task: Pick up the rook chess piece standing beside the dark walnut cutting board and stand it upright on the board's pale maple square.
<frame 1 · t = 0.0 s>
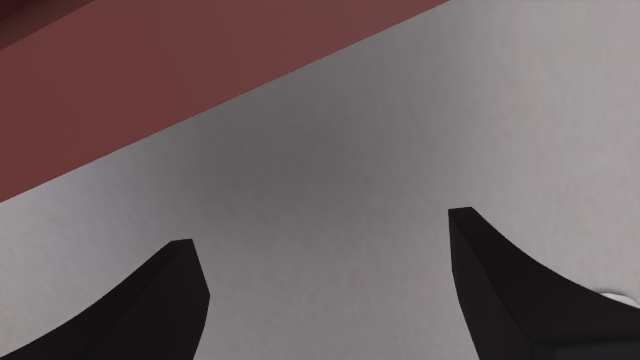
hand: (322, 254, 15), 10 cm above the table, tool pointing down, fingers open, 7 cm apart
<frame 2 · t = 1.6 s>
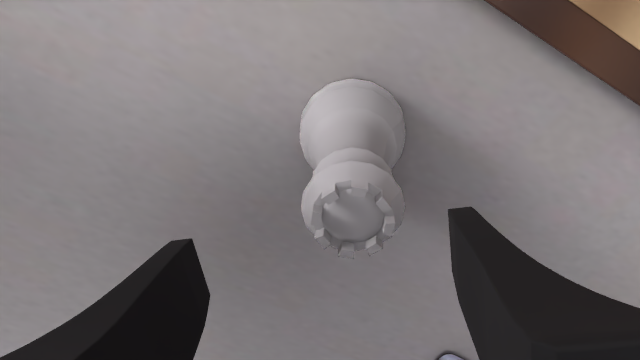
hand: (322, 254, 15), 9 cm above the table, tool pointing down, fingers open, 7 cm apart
rook chess piece: (352, 124, 23), on the table
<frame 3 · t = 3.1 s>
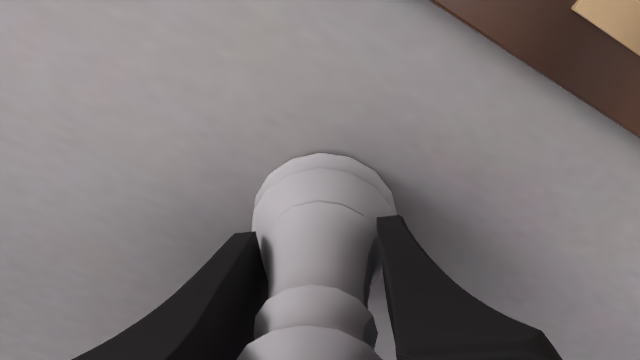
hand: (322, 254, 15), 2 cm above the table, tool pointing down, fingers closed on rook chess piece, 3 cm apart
rook chess piece: (325, 207, 17), on the table, touching gripper
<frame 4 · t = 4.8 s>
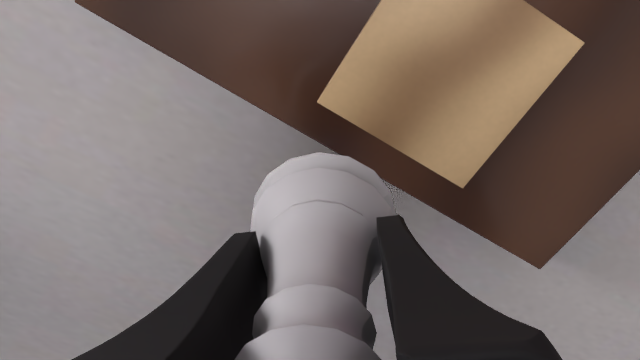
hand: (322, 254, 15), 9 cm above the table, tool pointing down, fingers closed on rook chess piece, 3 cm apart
rook chess piece: (324, 206, 17), point 7 cm above the table, touching gripper
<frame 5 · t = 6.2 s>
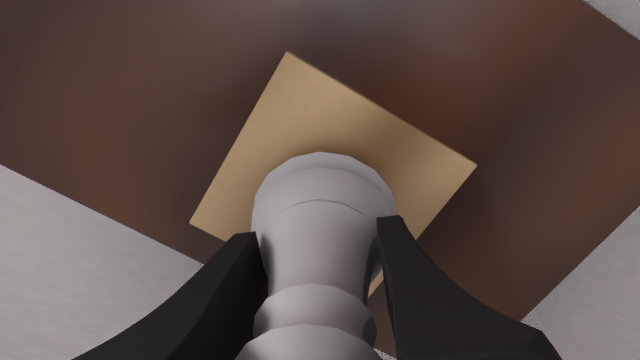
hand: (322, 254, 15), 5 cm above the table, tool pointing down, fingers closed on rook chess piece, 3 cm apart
cutting board: (309, 97, 19), on the table
rook chess piece: (325, 206, 17), point 3 cm above the table, touching gripper
when the fingers open (4 cm above the table, at t = 6.8 s): rook chess piece stays where it is, resting on cutting board.
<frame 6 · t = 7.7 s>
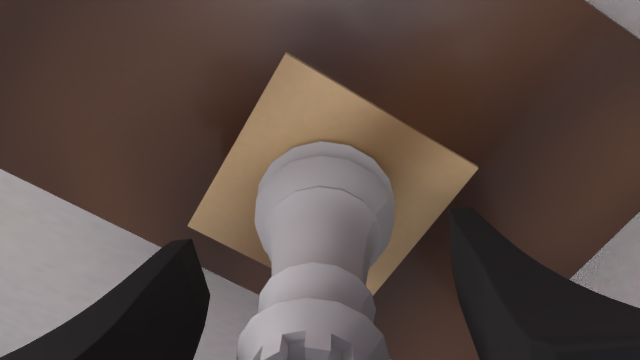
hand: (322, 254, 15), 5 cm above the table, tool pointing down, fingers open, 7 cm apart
cutting board: (308, 98, 18), on the table
rook chess piece: (326, 195, 18), point 2 cm above the table, touching cutting board
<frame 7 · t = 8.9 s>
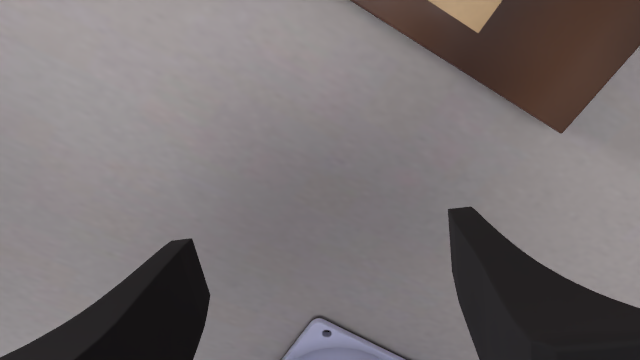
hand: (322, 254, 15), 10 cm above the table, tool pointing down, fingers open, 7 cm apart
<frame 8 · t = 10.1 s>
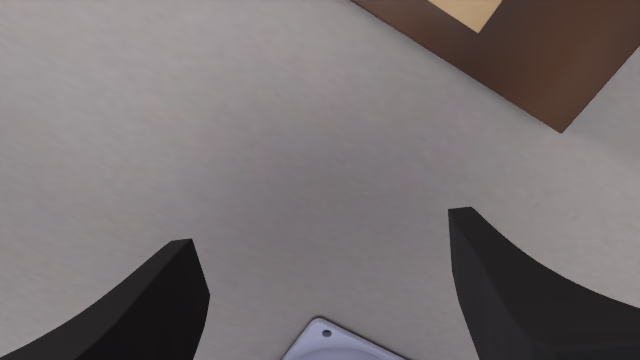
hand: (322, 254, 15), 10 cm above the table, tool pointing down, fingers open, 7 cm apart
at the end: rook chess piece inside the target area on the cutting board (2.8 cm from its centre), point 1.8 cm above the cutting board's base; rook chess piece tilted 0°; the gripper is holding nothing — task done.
